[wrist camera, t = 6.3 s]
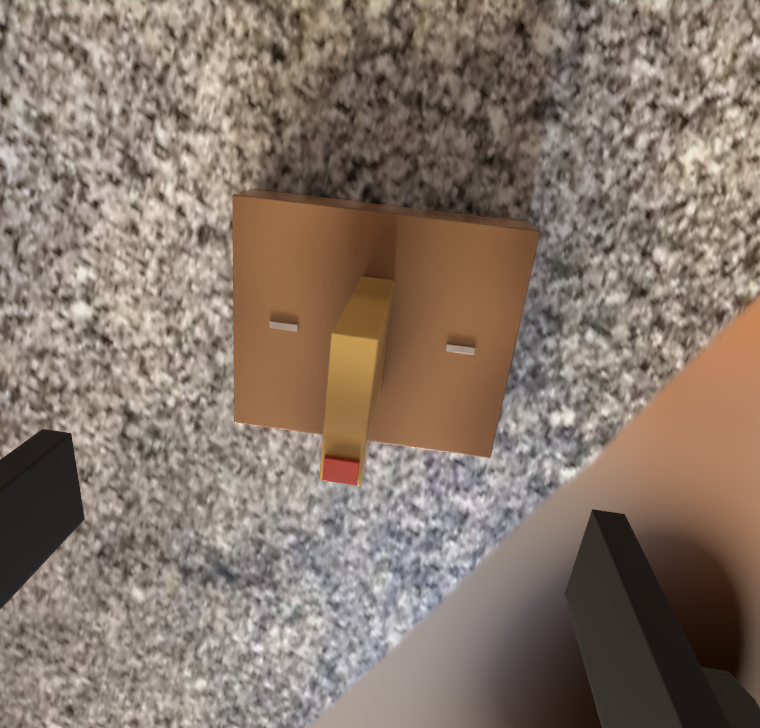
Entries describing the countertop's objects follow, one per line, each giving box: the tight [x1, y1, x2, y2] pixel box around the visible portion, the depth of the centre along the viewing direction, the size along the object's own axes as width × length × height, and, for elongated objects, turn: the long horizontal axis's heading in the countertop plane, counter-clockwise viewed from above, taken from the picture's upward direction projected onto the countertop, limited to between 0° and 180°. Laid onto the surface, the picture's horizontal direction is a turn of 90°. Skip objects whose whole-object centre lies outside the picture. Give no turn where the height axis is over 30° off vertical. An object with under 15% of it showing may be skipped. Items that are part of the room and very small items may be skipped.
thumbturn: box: [319, 276, 395, 486], centre depth 22 cm, size 6×2×8 cm, turn 173°
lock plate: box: [233, 189, 540, 458], centre depth 27 cm, size 14×12×3 cm
